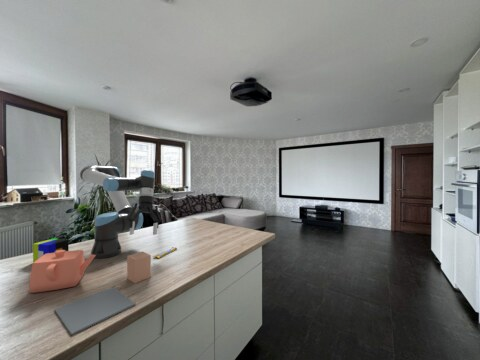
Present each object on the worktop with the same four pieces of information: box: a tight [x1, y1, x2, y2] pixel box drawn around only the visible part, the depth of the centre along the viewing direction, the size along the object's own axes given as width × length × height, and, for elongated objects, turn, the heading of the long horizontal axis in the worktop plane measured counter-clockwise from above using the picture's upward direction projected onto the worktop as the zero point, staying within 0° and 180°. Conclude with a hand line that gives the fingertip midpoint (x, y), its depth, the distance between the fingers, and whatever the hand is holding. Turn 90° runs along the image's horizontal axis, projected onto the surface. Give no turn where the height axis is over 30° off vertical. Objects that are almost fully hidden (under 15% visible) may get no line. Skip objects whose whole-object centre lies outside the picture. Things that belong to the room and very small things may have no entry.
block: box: [126, 251, 152, 284], centre depth 93 cm, size 7×7×10 cm
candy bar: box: [153, 247, 178, 259], centre depth 124 cm, size 17×4×2 cm, turn 159°
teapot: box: [28, 249, 96, 294], centre depth 88 cm, size 20×22×14 cm
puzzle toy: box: [32, 238, 69, 264], centre depth 111 cm, size 10×10×10 cm
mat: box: [54, 286, 136, 336], centre depth 71 cm, size 18×18×1 cm
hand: (143, 234), depth 113 cm, fingers open, 13 cm apart
